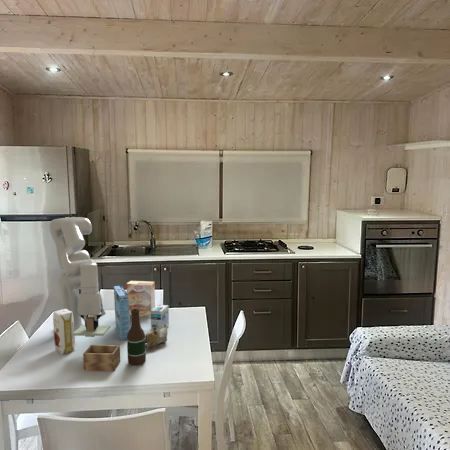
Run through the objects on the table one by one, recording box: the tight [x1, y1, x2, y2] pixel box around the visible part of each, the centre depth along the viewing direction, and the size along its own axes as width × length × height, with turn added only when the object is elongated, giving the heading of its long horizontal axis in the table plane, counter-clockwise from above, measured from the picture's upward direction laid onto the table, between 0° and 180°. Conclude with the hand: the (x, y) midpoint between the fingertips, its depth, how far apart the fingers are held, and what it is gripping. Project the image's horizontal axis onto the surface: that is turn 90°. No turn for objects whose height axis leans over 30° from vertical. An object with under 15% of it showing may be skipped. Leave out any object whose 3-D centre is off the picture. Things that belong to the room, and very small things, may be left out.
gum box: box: [113, 285, 131, 341], centre depth 211 cm, size 20×5×23 cm, turn 23°
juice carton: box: [52, 309, 76, 355], centre depth 191 cm, size 8×9×19 cm
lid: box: [73, 315, 111, 338], centre depth 187 cm, size 14×10×8 cm
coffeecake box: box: [125, 280, 156, 317], centre depth 239 cm, size 15×7×20 cm, turn 81°
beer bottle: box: [126, 309, 147, 367], centre depth 178 cm, size 8×8×24 cm
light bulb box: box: [150, 304, 170, 331], centre depth 220 cm, size 11×7×11 cm, turn 168°
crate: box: [82, 344, 121, 372], centre depth 176 cm, size 13×9×8 cm
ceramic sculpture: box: [145, 326, 168, 349], centre depth 197 cm, size 11×9×15 cm
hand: (91, 328), depth 188 cm, fingers closed on lid, 3 cm apart
